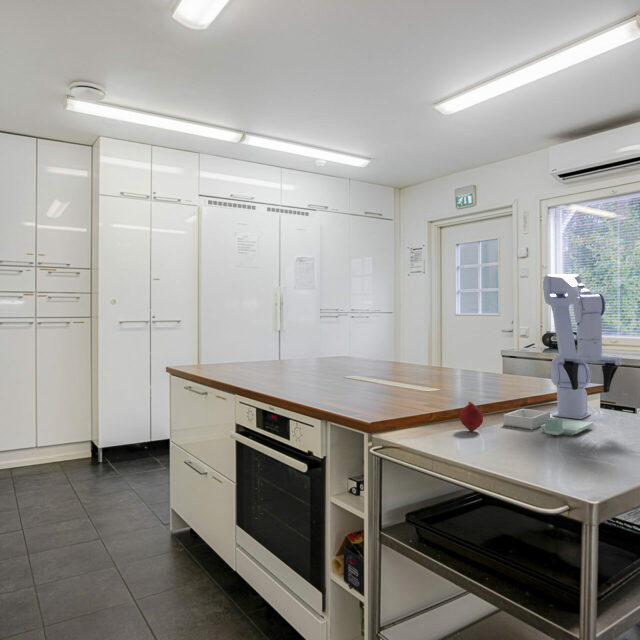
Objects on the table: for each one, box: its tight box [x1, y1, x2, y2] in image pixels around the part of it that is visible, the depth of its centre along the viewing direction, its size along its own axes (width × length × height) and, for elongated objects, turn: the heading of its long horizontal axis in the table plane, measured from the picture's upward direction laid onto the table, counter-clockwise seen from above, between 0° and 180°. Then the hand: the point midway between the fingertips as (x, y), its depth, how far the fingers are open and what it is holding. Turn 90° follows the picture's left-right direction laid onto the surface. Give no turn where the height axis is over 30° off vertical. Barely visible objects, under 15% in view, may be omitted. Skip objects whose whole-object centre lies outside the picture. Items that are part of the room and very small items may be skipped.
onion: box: [459, 400, 484, 432], centre depth 130 cm, size 6×6×8 cm
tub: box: [502, 408, 551, 431], centre depth 138 cm, size 12×8×3 cm, turn 134°
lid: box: [540, 417, 594, 436], centre depth 128 cm, size 17×9×4 cm, turn 133°
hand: (590, 390), depth 130 cm, fingers open, 7 cm apart
